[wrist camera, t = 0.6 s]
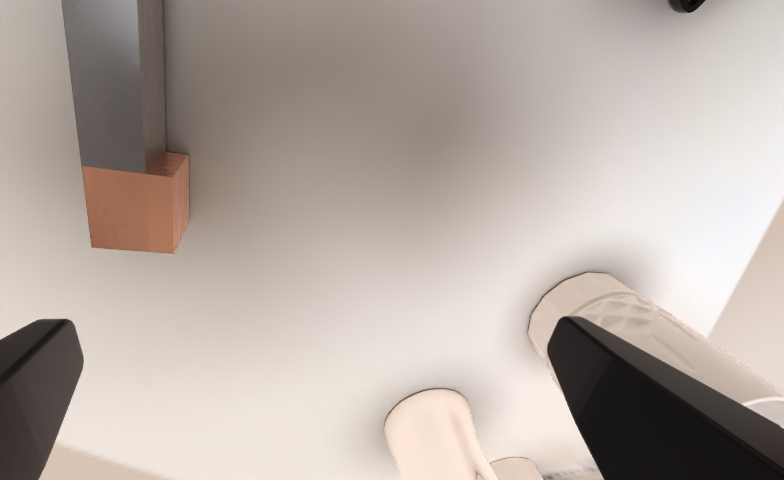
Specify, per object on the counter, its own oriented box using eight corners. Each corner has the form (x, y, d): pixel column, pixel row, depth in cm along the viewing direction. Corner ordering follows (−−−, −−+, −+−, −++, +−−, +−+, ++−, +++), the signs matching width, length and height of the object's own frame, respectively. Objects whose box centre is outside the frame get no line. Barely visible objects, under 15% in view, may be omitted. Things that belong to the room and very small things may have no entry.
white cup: (502, 304, 24) (622, 465, 15) (621, 239, 23) (812, 366, 15) (536, 377, 28) (645, 535, 19) (637, 323, 27) (794, 459, 19)
